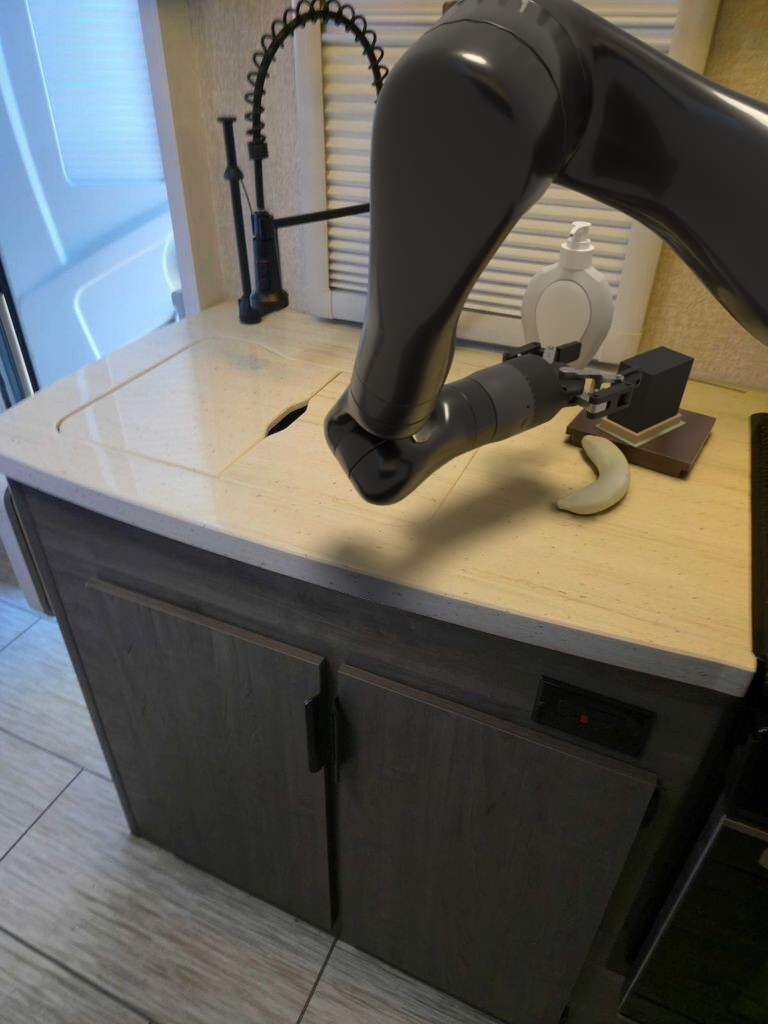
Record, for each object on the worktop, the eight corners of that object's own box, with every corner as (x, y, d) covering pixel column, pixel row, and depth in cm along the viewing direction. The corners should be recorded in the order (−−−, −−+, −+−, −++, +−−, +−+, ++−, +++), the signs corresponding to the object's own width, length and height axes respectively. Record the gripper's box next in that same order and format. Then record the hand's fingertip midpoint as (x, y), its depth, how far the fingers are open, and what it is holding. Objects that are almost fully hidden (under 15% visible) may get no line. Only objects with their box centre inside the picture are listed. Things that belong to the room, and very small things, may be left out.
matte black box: (644, 406, 92) (661, 343, 87) (679, 422, 89) (700, 358, 83) (599, 426, 88) (614, 361, 82) (634, 444, 84) (653, 377, 79)
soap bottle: (500, 396, 100) (522, 225, 85) (516, 376, 106) (539, 212, 91) (585, 415, 95) (624, 238, 81) (598, 394, 101) (636, 224, 86)
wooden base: (711, 433, 92) (717, 417, 90) (685, 481, 82) (691, 463, 81) (598, 402, 99) (602, 386, 97) (562, 443, 89) (566, 426, 88)
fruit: (635, 461, 86) (642, 439, 84) (617, 526, 75) (624, 502, 73) (580, 449, 88) (584, 427, 86) (554, 510, 77) (559, 487, 75)
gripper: (563, 392, 62) (669, 351, 69) (461, 343, 71) (565, 311, 78) (551, 461, 66) (651, 415, 74) (456, 406, 75) (555, 370, 83)
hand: (607, 361), depth 76 cm, fingers open, 8 cm apart
